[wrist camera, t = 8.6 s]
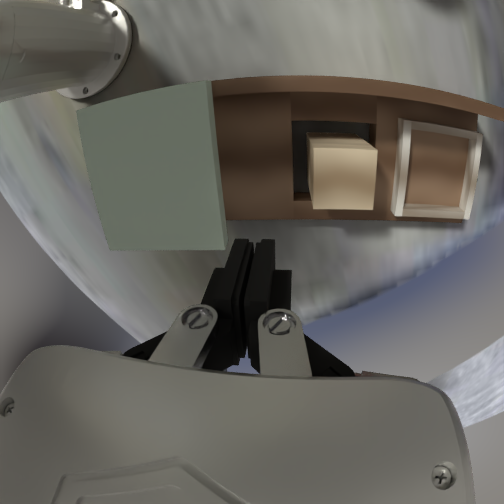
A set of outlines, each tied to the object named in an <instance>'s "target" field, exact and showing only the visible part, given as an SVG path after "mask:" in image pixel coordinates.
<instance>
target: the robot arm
mask: <svg viewBox="0 0 504 504" xmlns="http://www.w3.org/2000/svg"><path fill="white" fill-rule="evenodd" d="M69 2H70V5H69ZM131 42H132V29H131V23H130V20H129V18H128V15H127V14H126V12H125V11H124V10H123V9H122V8H121V7H120V6H119V5H117V4H115V3H113V2H110V1H106V0H92V1H91V0H59V4H57V3H51V2H43V1H34V0H0V103H1V102H4V101H8V100H12V99H16V98H20V97H24V96H28V95H32V94H37V93H42V92H47V91H52V90H56V91H57V92H58V93H59V94H61V95H62V96H64V97H67V98H71V99H80V98H86V97H89V96H93V95H95V94H97V93H99V92H101V91H102V90H103V89H105V88H106V87H107V86H108V85H109V84H110V83H111V82H112V81H113V80H114V79H115V78H116V77H117V75H118V74H119V73H120V71H121V70H122V68H123V66H124V64H125V62H126V60H127V57H128V54H129V51H130V47H131ZM120 56H121V57H120ZM291 276H292V270H275V240H271V239H262V241H261V243H256V248H255V252H254V246H253V242H249V240H248V239H235V240H234V243H233V246H232V249H231V252H230V254H229V257H228V260H227V263H226V266H225V268H215V269H214V271H213V274H212V276H211V279H210V281H209V284H208V286H207V289H206V292H205V294H204V297H203V299H202V302H201V304H197V305H192V306H189V307H187V308H185V309H183V310H182V311H181V312H180V313H179V315H178V316H177V318H176V319H175V321H174V322H173V324H172V325H171V327H170V328H169V330H168V331H167V332H165V333H163V334H161V335H158V336H156V337H154V338H152V339H150V340H148V341H146V342H144V343H142V344H140V345H137V346H135V347H133V348H131V349H129V350H128V351H126V352H125V353H124V354H122V352H121V351H96V350H91V349H86V348H81V347H74V346H61V345H58V346H57V345H55V346H47V347H43V348H39V349H36V350H34V351H33V352H31V353H30V354H29V355H28V356H27V357H26V358H25V359H24V360H23V362H22V363H21V364H20V366H19V367H18V368H17V369H16V371H15V372H14V374H13V375H12V376H11V378H10V379H9V381H8V383H7V384H6V386H5V388H4V389H3V391H2V392H1V394H0V504H475V492H474V483H473V475H472V467H471V461H470V455H469V450H468V446H467V442H466V438H465V434H464V430H463V427H462V424H461V421H460V418H459V416H458V413H457V411H456V408H455V406H454V405H453V403H452V401H451V400H450V398H449V397H448V396H447V395H446V394H445V393H444V392H443V391H442V390H440V389H439V388H437V387H434V386H432V385H430V384H427V383H423V382H420V381H418V380H417V379H414V378H410V377H402V376H394V375H387V374H380V373H373V372H366V371H362V373H361V374H360V373H354V372H353V370H352V369H351V368H350V367H349V366H347V365H346V364H344V363H343V362H342V361H340V360H339V359H338V358H336V357H335V356H334V355H332V354H331V353H329V352H328V351H326V350H325V349H324V348H323V347H321V346H320V345H318V344H317V343H316V342H314V341H313V340H312V339H310V338H309V337H308V336H306V335H305V334H304V333H303V329H302V324H301V321H300V318H299V317H298V316H297V315H296V314H295V313H294V312H292V311H291ZM247 348H248V358H250V359H251V366H252V367H253V368H254V369H255V370H257V372H258V373H259V374H248V373H235V372H227V368H228V367H230V366H232V365H239V361H240V358H244V357H245V354H246V349H247Z"/></svg>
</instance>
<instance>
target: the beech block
mask: <svg viewBox="0 0 504 504" xmlns="http://www.w3.org/2000/svg"><path fill="white" fill-rule="evenodd" d="M306 135H307V181H308V186H309V190H310V195H311V200H312V205H313V209H354V210H373V203H374V193H375V182H376V169H377V153H378V150H377V149H375V148H374V147H373V146H371V145H370V144H369V143H367V142H366V141H365V140H363V139H362V138H360V137H359V136H358V135H356V134H351V133H322V132H306Z"/></svg>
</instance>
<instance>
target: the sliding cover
mask: <svg viewBox="0 0 504 504" xmlns="http://www.w3.org/2000/svg"><path fill="white" fill-rule="evenodd" d="M76 113H77V119H78V125H79V131H80V137H81V142H82V147H83V152H84V157H85V162H86V166H87V171H88V175H89V179H90V183H91V187H92V191H93V195H94V199H95V203H96V206H97V210H98V213H99V217H100V220H101V224H102V227H103V230H104V234H105V237H106V240H107V243H108V246H109V249H110V250H225V249H226V246H227V243H228V235H227V226H226V218H225V209H224V201H223V192H222V183H221V174H220V165H219V156H218V146H217V137H216V127H215V117H214V107H213V96H212V85H211V81H198V82H192V83H185V84H179V85H174V86H168V87H163V88H158V89H153V90H149V91H144V92H140V93H136V94H132V95H128V96H124V97H120V98H116V99H113V100H109V101H106V102H102V103H99V104H95V105H92V106H89V107H86V108H83V109H80V110H77V111H76Z"/></svg>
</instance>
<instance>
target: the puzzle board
mask: <svg viewBox="0 0 504 504" xmlns="http://www.w3.org/2000/svg"><path fill="white" fill-rule="evenodd" d="M211 85H212V96H213V107H214V117H215V127H216V137H217V146H218V156H219V165H220V174H221V183H222V192H223V201H224V209H225V218H226V220H273V219H339V220H395V221H427V222H451V223H462V220H463V219H469V216H470V212H471V208H472V203H473V198H474V193H475V188H476V182H477V177H478V170H479V164H480V156H481V148H482V139H483V134H481V133H479V132H477V120H478V114H480V115H483V116H487V117H490V118H494V119H497V120H500V121H503V122H504V108H501V107H498V106H495V105H492V104H489V103H485V102H482V101H479V100H475V99H472V98H468V97H465V96H461V95H457V94H453V93H449V92H445V91H440V90H435V89H431V88H426V87H420V86H415V85H409V84H403V83H396V82H389V81H382V80H373V79H363V78H351V77H336V76H262V77H247V78H234V79H224V80H215V81H211ZM291 121H343V122H360V123H369V144H370V145H371V146H373V147H374V148H375V149H377V150H378V153H377V169H376V182H375V193H374V203H373V210H354V209H313V205H312V200H311V195H310V192H293V151H292V123H291Z"/></svg>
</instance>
